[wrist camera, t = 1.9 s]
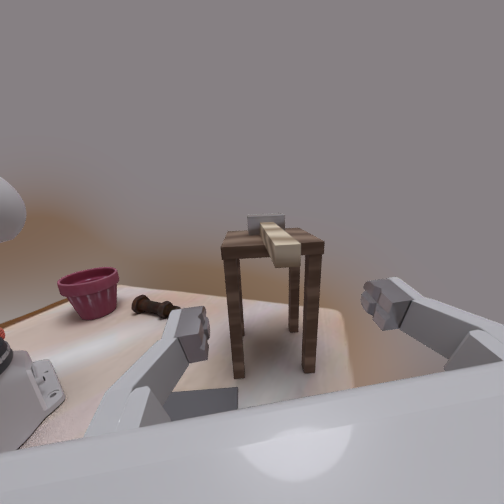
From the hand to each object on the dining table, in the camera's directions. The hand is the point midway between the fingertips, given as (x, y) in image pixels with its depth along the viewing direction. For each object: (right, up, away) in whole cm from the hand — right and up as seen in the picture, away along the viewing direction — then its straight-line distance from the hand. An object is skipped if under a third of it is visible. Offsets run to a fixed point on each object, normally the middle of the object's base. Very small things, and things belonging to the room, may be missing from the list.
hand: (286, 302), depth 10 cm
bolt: (-30, -17, +49) cm, 60 cm away
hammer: (+2, +4, +20) cm, 20 cm away
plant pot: (-51, -17, +52) cm, 74 cm away
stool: (+2, -19, +33) cm, 39 cm away
